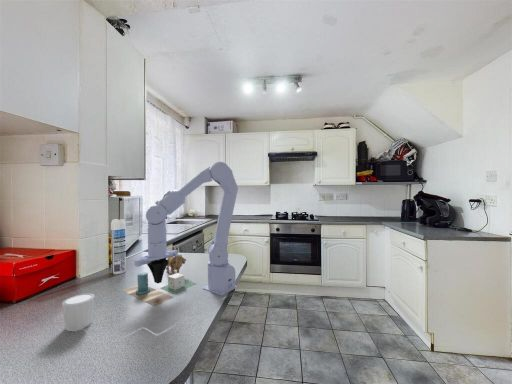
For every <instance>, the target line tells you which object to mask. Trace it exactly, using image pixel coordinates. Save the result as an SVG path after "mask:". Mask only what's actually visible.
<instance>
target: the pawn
mask: <svg viewBox="0 0 512 384" xmlns="http://www.w3.org/2000/svg"><path fill="white" fill-rule="evenodd" d="M137 285H138V290H136V294H138V295H142V294H146V293H149V292H150V288H148V287H149V273H148V272H141V273H138V274H137Z"/></svg>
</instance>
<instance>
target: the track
mask: <svg viewBox="0 0 512 384" xmlns="http://www.w3.org/2000/svg"><path fill="white" fill-rule="evenodd" d="M148 288H150V292H149V293H146V294H142V295H138V294H136V290H138V284H137V285H133V286H131V287H127V288H125V289H122V290H121V292H124V293H126V294H128V295H129V296H132V297H134V298H137V299H138V300H141V301H142V302H145V303H147V304H149V305H151V306H152V307H156V306H158V305H160V304H162V303H165V302H167V301H169V300H171V299H174V298H175V296H173V295H170V294H169V293H165V292H164V291H160V290H159V289H155V288H153V287H151V286H148Z"/></svg>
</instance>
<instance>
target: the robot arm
mask: <svg viewBox="0 0 512 384" xmlns="http://www.w3.org/2000/svg"><path fill="white" fill-rule="evenodd" d="M212 181H214V182H215V183H217V184H218V185H219V187H220V189H222V191H223V194H222V198H221V199H222V200H221V203H220V208H219V212H218V216H217V217H218V218H217V222H216V226H215V231H214V235H213V237H212V242H211V243H210V245H209V246H208V249H207V252H208V254H209V255H208V257H209V258H208V259H209V260H208V261H207V285H205V286H203V287H202V290H205V291H206V292H207V291H208V292H211V293H213V294H216V295H219V296H224V295H225V294H228V293H229V292H231V291H233V290H235V289H237V288H238V286H237V285H236V282H237V280H236V269H235V267H234V266H233V265H231V264H230V263H229V260H228V259H229V258H228V257H229V254H228V253H229V251H228V245H229V243H228V242H229V234H230V229H231V225H232V224H231V223H232V219H233V215H234V209H235V204H236V199H237V194H238V190H239V189H238V188H239V187H238V185H237V182H236V179H235V176H234V173H233V170H232V169H231V168H230V167H229V165H228V164H227V163H226V162H224V161H217V162H214V163H213V164H212V166H209V167H207V168H205V169H203V170H202V171H200V172H199V173H198V174H197V175H196V176H194V177H193V178H192V179H191V180H190V181H189V182H188V183H186V184H185V185H184V186H183V187H182V188H180V189H179V190H178V189H172V190H168V191H167V192H166V195H165V196H164V197H163V198H161V199H160V200H159V201H158V200H157V201H156V202H155V205H153V206H150V207H149V208H148V209H147V211H146V213H145V218H146V220H147V253H148V254H147V255H144V256H142V257H138V258H136V259H134V260H133V261H134V267H141V266H143V265H147V267H148V268H149V271H150V272H151V274H152V277H153V281H154V283H156V284H161V283H162V282H163V277H164V273H165V272H166V268H167V265H168V260H167V259H168V258H169V257H175V256H178V255H179V252H178V250H177V249H173V250H168V249H167V225H166V219H167V217H168V215H169V216H170V215H172V214H173V213H174V212H175V211H176V210H178V209H179V208H180V207H182V206H183V205H184V204H185V203H186V197H187V196H189V195H190V194H192V192H194V191H196V189H198V188H199V187H201V186H202V185H203V184H205V183H210V182H212Z"/></svg>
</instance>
